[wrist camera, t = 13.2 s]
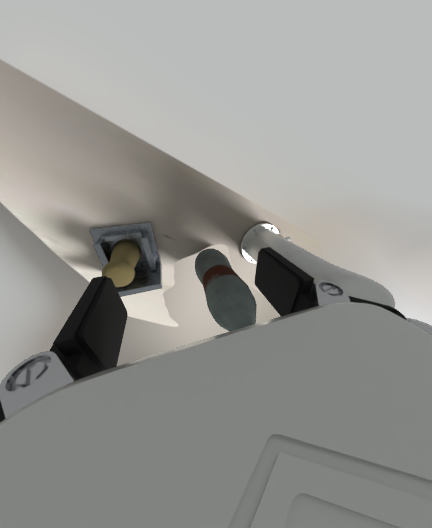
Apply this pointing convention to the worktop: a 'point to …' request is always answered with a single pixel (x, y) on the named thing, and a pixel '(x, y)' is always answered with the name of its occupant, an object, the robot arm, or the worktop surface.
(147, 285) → the clip bracket
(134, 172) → the worktop surface
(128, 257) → the cork
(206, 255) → the bottle
